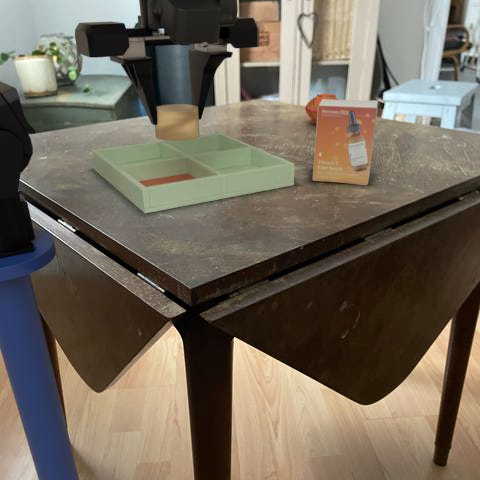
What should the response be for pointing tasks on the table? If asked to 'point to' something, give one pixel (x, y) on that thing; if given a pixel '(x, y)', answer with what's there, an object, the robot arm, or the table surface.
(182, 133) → the cylinder
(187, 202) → the grid
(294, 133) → the table surface
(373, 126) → the small box
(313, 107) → the pot
